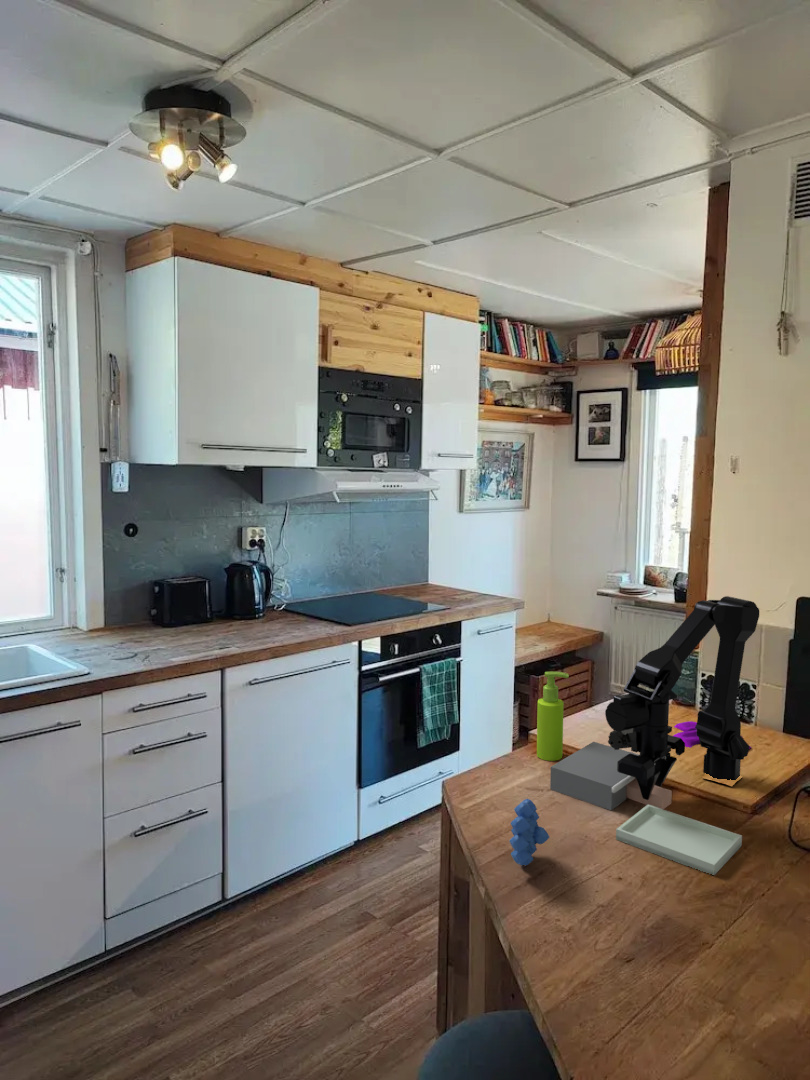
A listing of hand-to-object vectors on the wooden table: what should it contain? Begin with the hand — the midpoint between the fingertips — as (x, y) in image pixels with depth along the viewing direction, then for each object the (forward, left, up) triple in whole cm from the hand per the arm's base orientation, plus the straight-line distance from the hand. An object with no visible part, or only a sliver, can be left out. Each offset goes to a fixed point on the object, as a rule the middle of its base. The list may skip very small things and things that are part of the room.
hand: (650, 795), depth 158 cm
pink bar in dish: (+3, 0, -2) cm, 4 cm away
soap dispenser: (+27, -6, -1) cm, 28 cm away
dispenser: (+11, 0, -1) cm, 11 cm away
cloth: (+4, -42, -2) cm, 42 cm away
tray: (-11, +12, -1) cm, 16 cm away
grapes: (+5, +37, -1) cm, 37 cm away
